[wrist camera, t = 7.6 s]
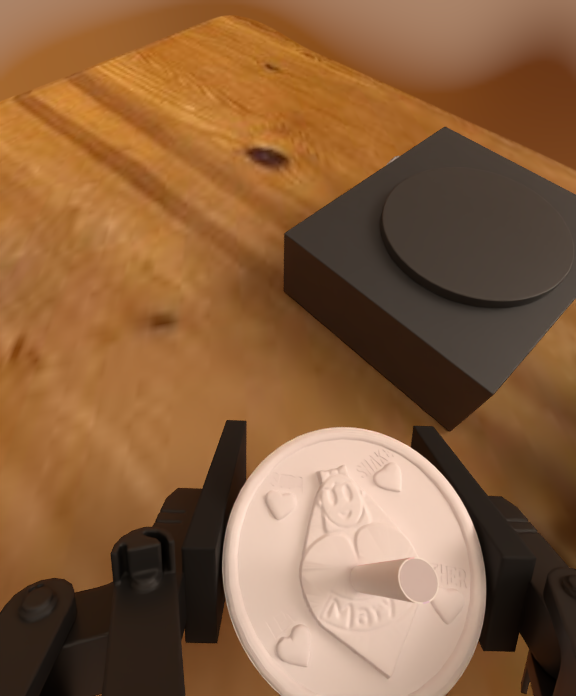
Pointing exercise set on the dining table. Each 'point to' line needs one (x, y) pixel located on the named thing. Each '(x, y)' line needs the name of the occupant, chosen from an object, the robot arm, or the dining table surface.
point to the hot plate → (439, 270)
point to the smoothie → (353, 569)
